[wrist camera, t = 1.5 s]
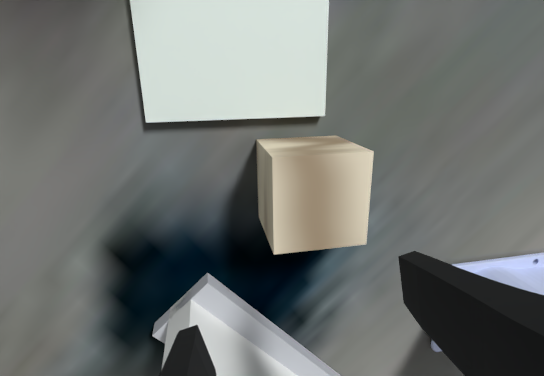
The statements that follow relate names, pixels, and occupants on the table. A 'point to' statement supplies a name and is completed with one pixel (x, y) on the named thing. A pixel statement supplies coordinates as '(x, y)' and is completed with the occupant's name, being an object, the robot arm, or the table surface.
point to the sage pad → (231, 58)
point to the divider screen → (236, 335)
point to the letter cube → (313, 192)
